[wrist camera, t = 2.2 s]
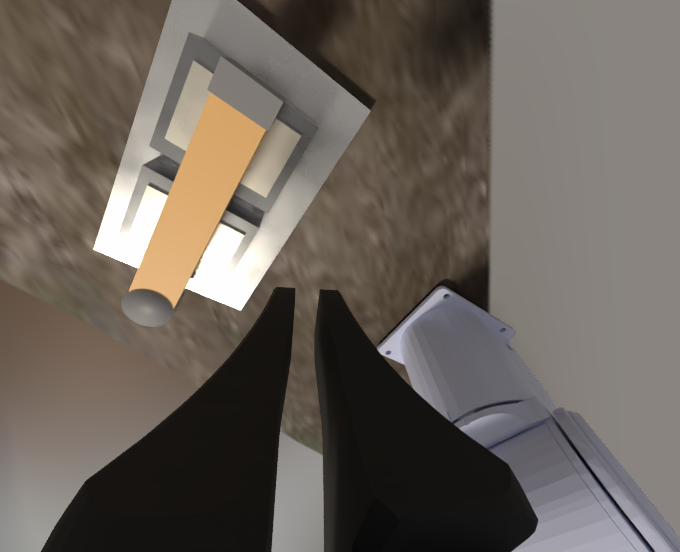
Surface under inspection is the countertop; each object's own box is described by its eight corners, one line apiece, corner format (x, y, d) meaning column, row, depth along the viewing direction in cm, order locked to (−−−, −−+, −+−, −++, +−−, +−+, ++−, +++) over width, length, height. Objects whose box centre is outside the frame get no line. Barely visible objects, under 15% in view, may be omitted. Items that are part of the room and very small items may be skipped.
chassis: (369, 109, 16) (380, 115, 14) (241, 306, 22) (234, 334, 20) (189, -39, 12) (161, -66, 10) (98, 245, 19) (67, 270, 16)
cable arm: (176, 309, 18) (163, 332, 17) (133, 293, 17) (115, 315, 16) (286, 98, 13) (283, 101, 11) (232, 58, 12) (220, 55, 10)
